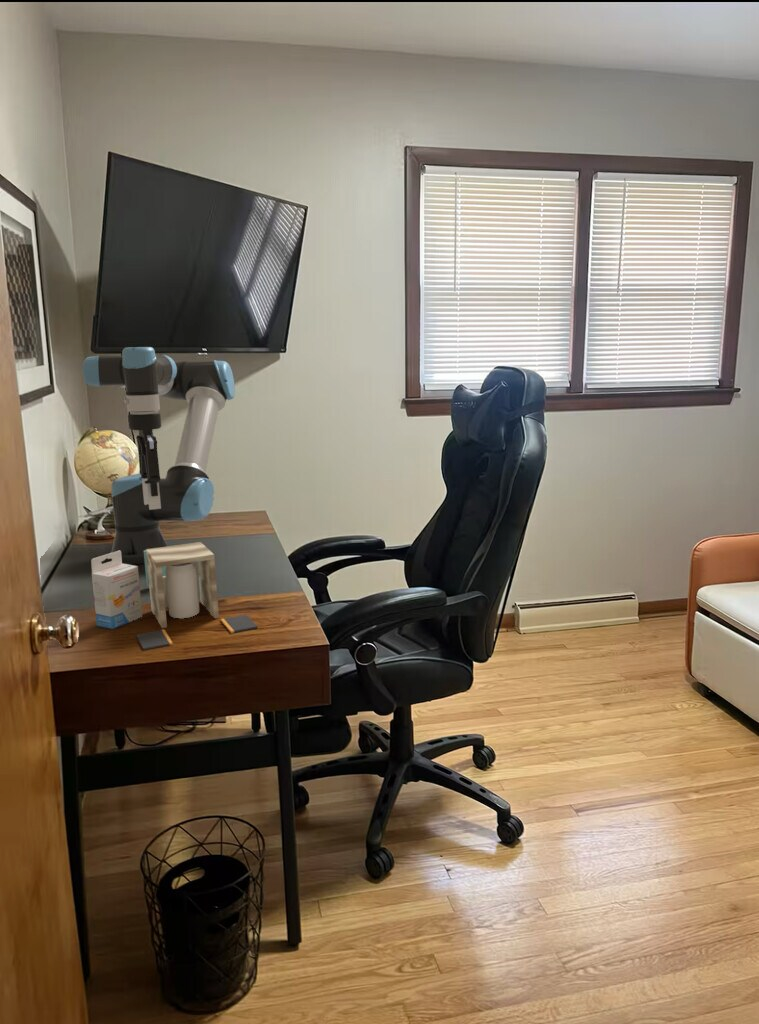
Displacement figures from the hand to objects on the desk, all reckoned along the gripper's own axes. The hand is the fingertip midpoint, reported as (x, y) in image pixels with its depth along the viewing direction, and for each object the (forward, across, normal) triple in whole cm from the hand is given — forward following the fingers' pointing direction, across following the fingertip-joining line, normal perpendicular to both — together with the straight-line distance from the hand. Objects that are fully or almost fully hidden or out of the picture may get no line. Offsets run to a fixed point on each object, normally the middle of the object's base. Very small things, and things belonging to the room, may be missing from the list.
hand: (152, 506), depth 185 cm
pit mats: (+19, +41, 0) cm, 45 cm away
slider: (+18, +15, 0) cm, 24 cm away
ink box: (+19, +26, -13) cm, 35 cm away
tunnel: (+19, +29, 0) cm, 35 cm away
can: (+19, +29, 0) cm, 35 cm away
